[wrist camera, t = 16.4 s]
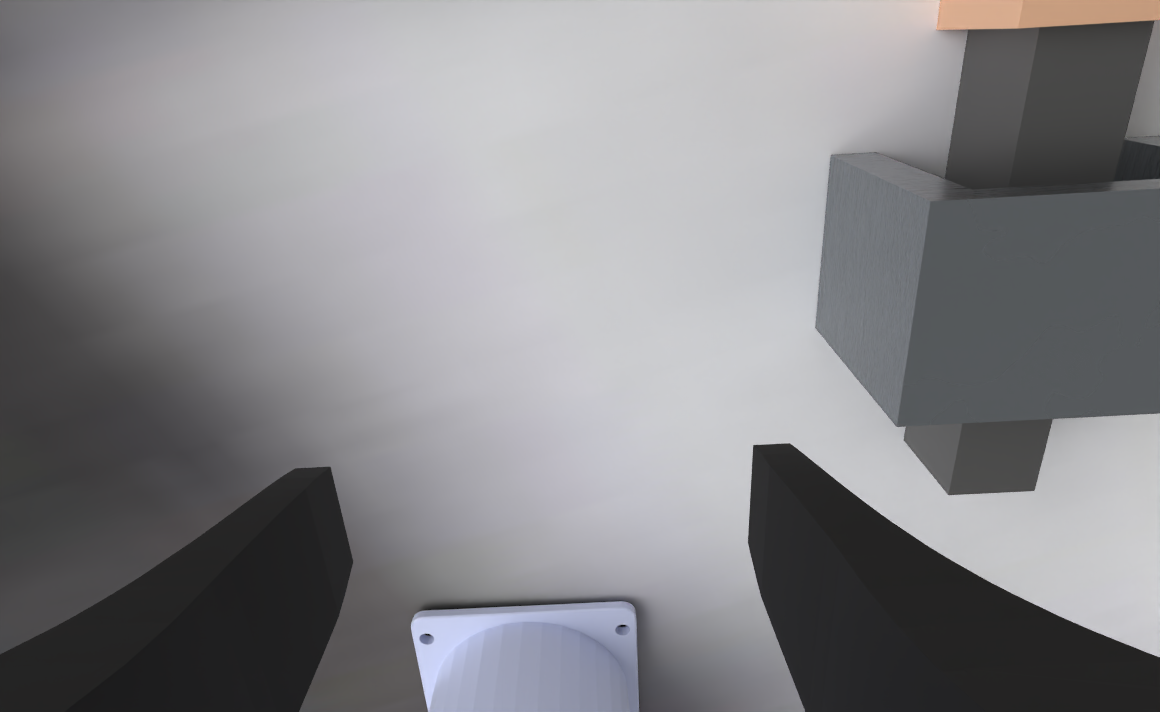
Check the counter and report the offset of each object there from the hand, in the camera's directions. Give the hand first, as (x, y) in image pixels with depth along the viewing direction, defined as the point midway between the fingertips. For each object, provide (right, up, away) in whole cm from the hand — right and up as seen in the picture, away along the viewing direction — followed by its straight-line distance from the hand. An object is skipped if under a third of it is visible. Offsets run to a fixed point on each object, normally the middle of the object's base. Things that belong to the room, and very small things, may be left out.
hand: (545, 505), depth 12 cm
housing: (+12, +6, +8) cm, 15 cm away
